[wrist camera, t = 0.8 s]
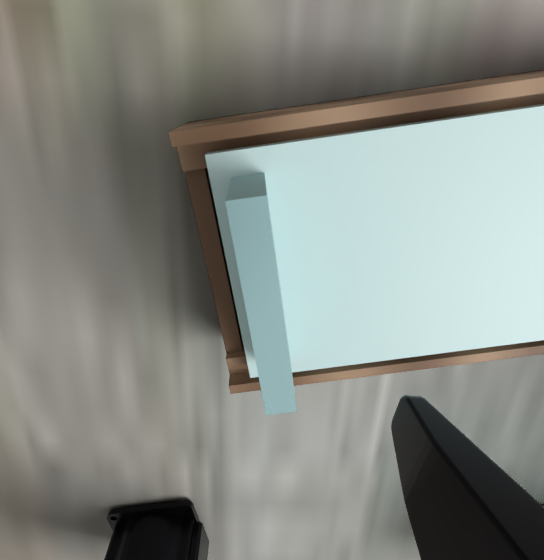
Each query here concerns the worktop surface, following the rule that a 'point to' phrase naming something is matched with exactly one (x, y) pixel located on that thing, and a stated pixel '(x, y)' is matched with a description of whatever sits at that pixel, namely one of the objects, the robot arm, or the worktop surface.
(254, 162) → the lid
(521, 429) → the worktop surface
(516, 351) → the walnut box
